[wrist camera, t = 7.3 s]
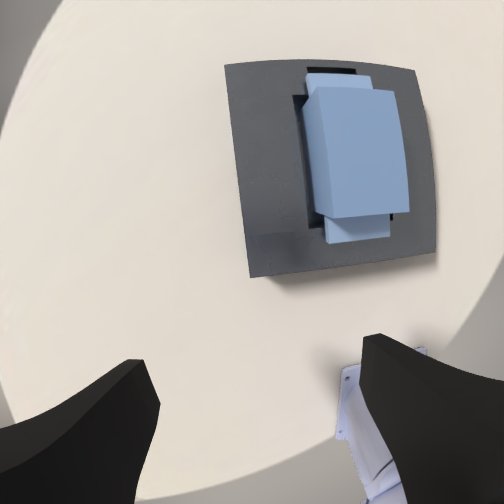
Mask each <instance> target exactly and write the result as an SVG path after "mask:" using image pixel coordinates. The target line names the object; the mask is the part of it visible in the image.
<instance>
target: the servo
mask: <svg viewBox="0 0 504 504" xmlns="http://www.w3.org/2000/svg"><path fill="white" fill-rule="evenodd" d="M305 78H306V83H307V89H308V94H309V99H308V100H307V102H306V103H305V104H304V106H303V107H302V109H301V110H300V112H299V113H298V119H299V125H300V132H301V139H302V147H303V154H304V162H305V171H306V179H307V189H308V198H309V208H310V210H311V211H314V212H317V213H320V214H323V215H324V220H325V233H326V242H327V243H329V244H332V243H340V242H348V241H357V240H365V239H373V238H382V237H390V214H389V213H401V212H409V193H408V180H407V169H406V160H405V152H404V145H403V138H402V131H401V125H400V120H399V114H398V109H397V104H396V99H395V95H394V91H388V90H378V89H373V87H372V82H371V78H370V76H363V75H350V74H328V73H307V75H306V77H305Z"/></svg>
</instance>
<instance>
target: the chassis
mask: <svg viewBox="0 0 504 504" xmlns="http://www.w3.org/2000/svg"><path fill="white" fill-rule="evenodd" d="M224 68H225V76H226V85H227V93H228V102H229V110H230V119H231V127H232V135H233V144H234V152H235V160H236V168H237V177H238V185H239V193H240V201H241V209H242V217H243V225H244V233H245V241H246V249H247V257H248V265H249V273H250V278H255V277H264V276H272V275H280V274H288V273H296V272H304V271H312V270H319V269H327V268H334V267H341V266H348V265H355V264H362V263H369V262H376V261H383V260H389V259H396V258H402V257H409V256H415V255H421V254H427V253H433V252H436V202H435V184H434V172H433V162H432V154H431V146H430V139H429V133H428V127H427V121H426V116H425V111H424V106H423V101H422V97H421V93H420V89H419V85H418V81H417V77H416V73H415V70H410V69H405V68H399V67H393V66H387V65H380V64H372V63H363V62H353V61H339V60H312V59H296V60H269V61H255V62H245V63H235V64H227V65H224ZM307 73H328V74H350V75H363V76H370V78H371V82H372V87H373V89H378V90H388V91H394V95H395V99H396V104H397V109H398V114H399V120H400V125H401V131H402V138H403V145H404V152H405V160H406V169H407V180H408V193H409V212H401V213H389V214H390V237H382V238H373V239H365V240H357V241H348V242H340V243H332V244H329V243H327V242H326V233H325V220H324V215H323V214H320V213H317V212H314V211H311V210H310V208H309V198H308V189H307V179H306V171H305V162H304V154H303V147H302V139H301V132H300V125H299V119H298V113H299V112H300V110H301V109H302V107H303V106H304V104H305V103H306V102H307V100H308V99H309V94H308V89H307V83H306V78H305V77H306V75H307Z"/></svg>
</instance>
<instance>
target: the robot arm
mask: <svg viewBox="0 0 504 504" xmlns="http://www.w3.org/2000/svg"><path fill="white" fill-rule="evenodd" d="M426 353H427V350H426V349H425V348H424V347H421V348H417V349H412V348H410V347H408V346H406V345H404V344H402V343H400V342H398V341H396V340H394V339H392V338H390V337H388V336H386V335H383V334H381V333H379V334H375V335H370V336H366V337H363V348H362V359H361V364H358V365H353V366H349V367H346V368H344V369H343V370H342V372H341V384H340V396H339V407H338V416H337V425H336V433H335V438H336V440H343V439H346V440H347V442H348V446H349V448H350V451H351V454H352V457H353V460H354V463H355V466H356V468H357V471H358V474H359V477H360V480H361V482H362V483H363V485H364V486H365V487H364V488H365V491H366V494H367V498H365V499H364V500H363V501H362V502H361V503H360V504H504V381H501V380H495V379H491V378H486V377H483V376H479V375H475V374H472V373H469V372H465V371H462V370H460V369H457V368H455V367H452V366H449V365H447V364H444V363H442V362H440V361H437V360H435V359H433V358H431V357H429V356H426ZM348 376H349V377H348ZM346 377H348V378H346ZM160 404H161V403H160V401H159V399H158V396H157V394H156V391H155V389H154V386H153V384H152V381H151V379H150V376H149V373H148V371H147V368H146V365H145V363H144V360H138V359H128V360H126V361H124V362H122V363H121V364H119V365H118V366H116V367H115V368H113V369H112V370H110V371H109V372H107V373H106V374H105V375H103V376H102V377H100V378H99V379H97V380H96V381H95V382H93V383H92V384H90V385H89V386H87V387H86V388H85V389H83V390H82V391H80V392H78V393H77V394H75V395H74V396H72V397H70V398H69V399H67V400H66V401H64V402H62V403H61V404H59V405H57V406H56V407H54V408H52V409H50V410H48V411H46V412H44V413H42V414H40V415H38V416H35V417H33V418H31V419H28V420H25V421H22V422H20V423H17V424H14V425H11V426H8V427H4V428H1V429H0V504H134V501H135V495H136V489H137V484H138V481H139V477H140V474H141V471H142V468H143V465H144V462H145V459H146V456H147V453H148V450H149V447H150V444H151V441H152V439H153V436H154V433H155V429H156V426H157V421H158V416H159V410H160Z"/></svg>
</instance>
